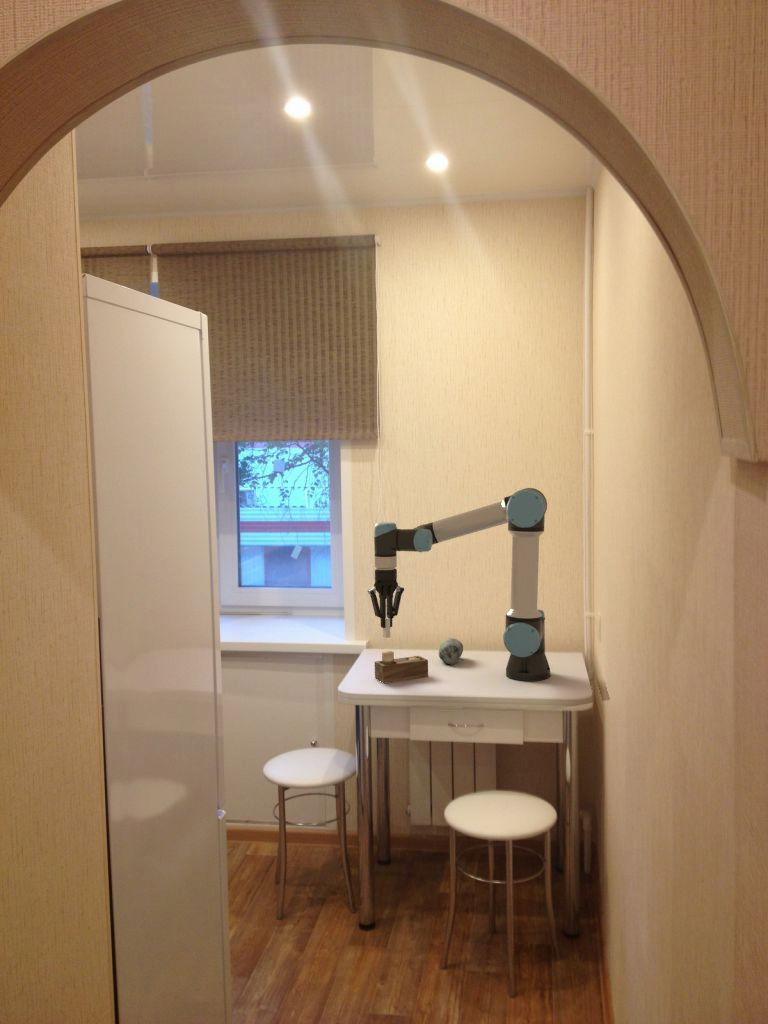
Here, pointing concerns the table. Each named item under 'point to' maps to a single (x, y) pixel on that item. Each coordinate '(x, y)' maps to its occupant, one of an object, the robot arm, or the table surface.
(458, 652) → the grey green ridged egg
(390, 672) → the walnut block
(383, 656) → the peg left
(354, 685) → the table surface
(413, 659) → the peg right
